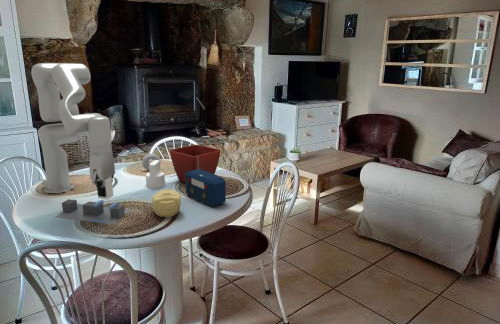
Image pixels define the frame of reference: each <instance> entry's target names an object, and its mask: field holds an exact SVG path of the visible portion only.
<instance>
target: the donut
mask: <svg viewBox="0 0 500 324" xmlns="http://www.w3.org/2000/svg"><path fill="white" fill-rule="evenodd" d="M151 160H152V161H154V160H160V161H161V158H160V157H159V156H158V155H157V154H156V153H148V154H146V155H144V157H143V158H142V161H141V162H142V166H143V168H144V169H145V170H147V171H149V165H150V164H151V163H149V161H151Z"/></svg>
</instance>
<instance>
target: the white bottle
mask: <svg viewBox="0 0 500 324" xmlns="http://www.w3.org/2000/svg"><path fill="white" fill-rule="evenodd" d="M99 182H100V183H101V181H99ZM104 187H105V189H106V197H99V196H98V195H97V198H98V199H101V200H109V199H110V198H112V197H114V187H113V182H112V176H109V177H107V178H106V179H104Z"/></svg>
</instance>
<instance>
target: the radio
mask: <svg viewBox="0 0 500 324" xmlns="http://www.w3.org/2000/svg"><path fill="white" fill-rule="evenodd" d="M185 176H186V183H185V193H186V195H187V196H188V195H189V196H191V197H193V198H195V199H197V200H196V201H197V202H200V203H201V204H204V205H206V206H208V207H214V206H217V205H220V204H223V203H225V202H226V200H227V199H226V195H227V193H226V190H227V186H226V183H227V182H226V180H225V179H224V178H223V176H220V175H217V174H216V173H215V174H212V173H209V172H207V171H204V170H201V169H199V160H198V169H197V170H193V171H189V172H187V173H185ZM189 196H188V197H189ZM191 197H190V198H191ZM193 198H192V199H193ZM195 199H194V200H195Z"/></svg>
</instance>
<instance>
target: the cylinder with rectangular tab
mask: <svg viewBox="0 0 500 324" xmlns="http://www.w3.org/2000/svg"><path fill="white" fill-rule="evenodd" d="M149 164H150V165H149V170H148V171H149V172H147V173H146V174H145V182H146V183H145V184H146V187H147V188H149V189H161V188H163V187H165V185H166V181H165V179H166V178H165V172H163V171H161V159H160V160H152V161H151V162H150V163H149Z"/></svg>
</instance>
